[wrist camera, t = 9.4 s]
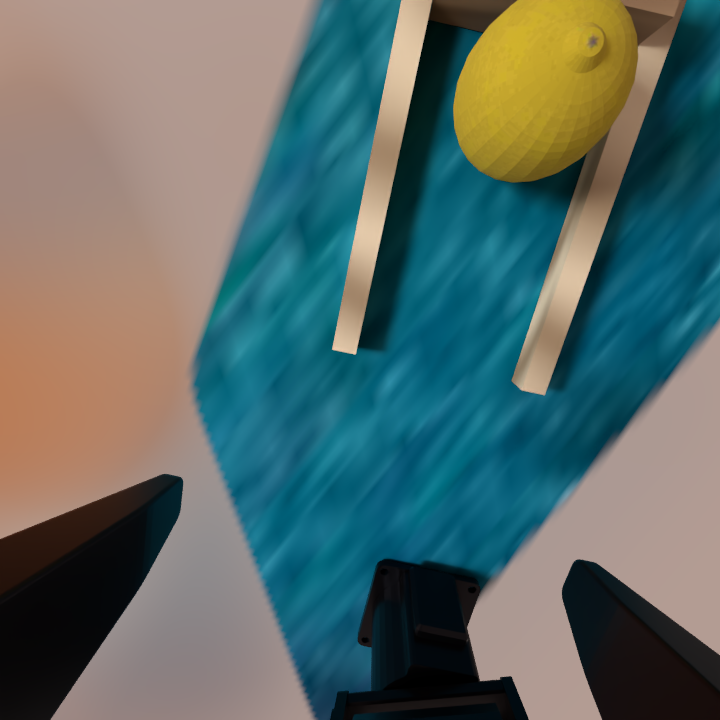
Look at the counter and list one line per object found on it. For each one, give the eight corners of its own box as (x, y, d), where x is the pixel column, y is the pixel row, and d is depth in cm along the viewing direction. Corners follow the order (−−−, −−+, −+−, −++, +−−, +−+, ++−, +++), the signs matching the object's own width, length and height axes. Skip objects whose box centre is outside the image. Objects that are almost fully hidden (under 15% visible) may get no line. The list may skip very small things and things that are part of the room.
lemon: (478, 219, 19) (550, 197, 12) (415, 115, 18) (447, 13, 10) (582, 145, 18) (737, 65, 11) (522, 31, 17) (644, -151, 9)
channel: (533, 385, 21) (563, 410, 18) (335, 342, 21) (327, 360, 18) (661, 16, 17) (733, -44, 13) (412, -43, 17) (421, -118, 13)
